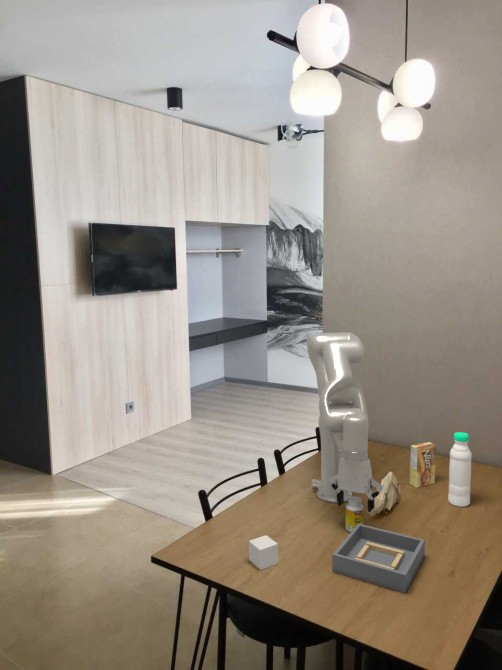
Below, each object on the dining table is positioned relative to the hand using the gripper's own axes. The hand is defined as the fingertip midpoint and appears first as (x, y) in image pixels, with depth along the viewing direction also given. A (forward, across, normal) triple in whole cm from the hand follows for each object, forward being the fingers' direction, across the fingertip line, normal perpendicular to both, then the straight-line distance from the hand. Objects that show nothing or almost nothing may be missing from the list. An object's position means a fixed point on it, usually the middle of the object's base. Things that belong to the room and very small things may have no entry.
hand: (355, 507), depth 171 cm
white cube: (+9, -17, -29) cm, 35 cm away
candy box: (+7, +9, +46) cm, 47 cm away
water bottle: (+7, +24, +36) cm, 44 cm away
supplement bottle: (+8, -1, +1) cm, 8 cm away
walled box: (+8, +12, -14) cm, 20 cm away
